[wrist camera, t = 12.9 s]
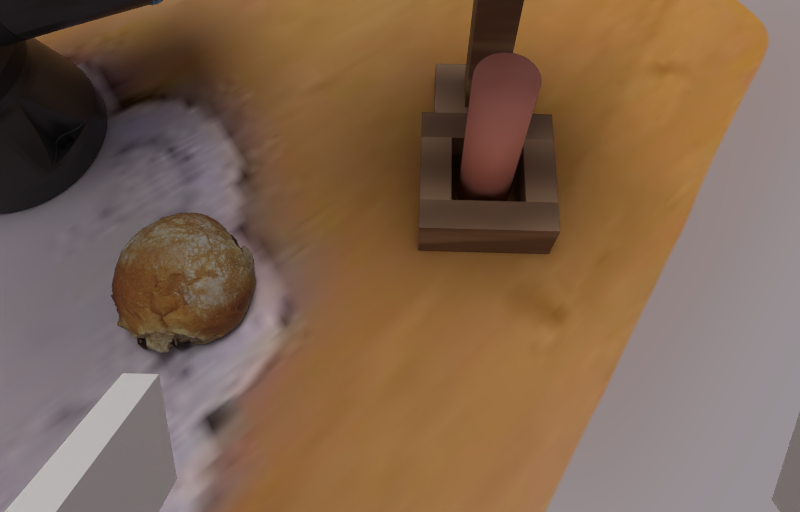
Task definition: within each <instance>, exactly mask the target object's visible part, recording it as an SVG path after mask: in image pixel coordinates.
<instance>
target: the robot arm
mask: <svg viewBox="0 0 800 512" xmlns="http://www.w3.org/2000/svg"><path fill="white" fill-rule="evenodd" d="M162 1H163V0H0V213H7V212H13V211H18V210H22V209H26V208H29V207H32V206H35V205H37V204H40V203H42V202H44V201H46V200H48V199H50V198H52V197H54V196H55V195H57V194H59V193H60V192H62V191H63V190H65V189H66V188H67V187H69V186H70V185H71V184H72V183H73V182H75V181H76V180H77V179H78V178H79V177H80V176H81V175H82V174H83V173H84V172H85V171H86V169H87V168H88V167H89V166H90V164H91V163H92V162H93V160H94V159H95V157H96V155H97V153H98V152H99V150H100V147H101V145H102V143H103V140H104V136H105V133H106V126H107V114H106V108H105V104H104V101H103V99H102V97H101V95H100V93H99V92H98V90H97V89H96V88H95V86H94V85H93V84H92V82H91V81H90V80H89V78H88V77H87V76H86V75H85V73H84V72H83V71H82V70H81V69H80V68H79V67H77V66H76V65H75V64H74V63H73V62H71V61H70V60H68V59H66V58H65V57H63V56H62V55H60V54H59V53H57V52H55V51H54V50H52V49H51V48H49V47H48V46H46V45H44V44H43V43H41V42H40V41H38V40H37V39H35V38H34V37H38V36H41V35H44V34H48V33H51V32H54V31H58V30H61V29H64V28H68V27H72V26H75V25H79V24H82V23H86V22H89V21H93V20H96V19H100V18H103V17H107V16H110V15H114V14H118V13H121V12H125V11H128V10H132V9H135V8H139V7H142V6H146V5H155V4H159V3H160V2H162ZM176 479H177V477H176V471H175V465H174V459H173V454H172V448H171V442H170V436H169V430H168V425H167V419H166V413H165V407H164V401H163V396H162V390H161V384H160V378H159V374H134V373H122V374H121V376H120V377H119V378H118V379H117V380H116V381H115V383H114V384H113V385H112V386H111V387H110V388H109V390H108V391H107V392H106V393H105V394H104V395H103V397H102V398H101V399H100V400H99V401H98V403H97V404H96V405H95V406H94V407H93V408H92V410H91V411H90V412H89V413H88V414H87V415H86V417H85V418H84V419H83V420H82V421H81V422H80V424H79V425H78V426H77V427H76V428H75V429H74V431H73V432H72V433H71V434H70V435H69V437H68V438H67V439H66V440H65V441H64V442H63V444H62V445H61V446H60V447H59V448H58V449H57V451H56V452H55V453H54V454H53V455H52V456H51V458H50V459H49V460H48V461H47V462H46V464H45V465H44V466H43V467H42V468H41V469H40V471H39V472H38V473H37V474H36V475H35V476H34V478H33V479H32V480H31V481H30V482H29V483H28V485H27V486H26V487H25V488H24V489H23V491H22V492H21V493H20V494H19V495H18V496H17V498H16V499H15V500H14V501H13V502H12V503H11V505H10V506H9V507H8V508H7V509H6V510H5V512H159V510H160V509H161V507H162V505H163V503H164V501H165V499H166V497H167V496H168V494H169V492H170V490H171V488H172V486H173V484H174V483H175V481H176ZM772 501H773V502H774V504H775V505H776V506H777V508H778V509H779V511H780V512H800V413H799V416H798V419H797V422H796V425H795V428H794V432H793V435H792V438H791V441H790V444H789V447H788V450H787V453H786V457H785V460H784V463H783V466H782V469H781V472H780V475H779V478H778V482H777V485H776V488H775V491H774V494H773V497H772Z"/></svg>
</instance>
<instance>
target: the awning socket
mask: <svg viewBox="0 0 800 512" xmlns="http://www.w3.org/2000/svg"><path fill="white" fill-rule="evenodd" d="M523 2H524V0H474V2H473V11H472V19H471V28H470V37H469V46H468V55H467V63H466V64H436V70H435V110H434V112H422V140H421V171H420V203H419V247H418V250H428V251H464V252H500V253H536V254H549V252H550V250H551V248H552V246H553V244H554V242H555V241H556V239H557V237H558V235H559V233H560V220H559V206H558V193H557V179H556V165H555V152H554V138H553V124H552V115H544V114H532V117H531V121H530V124H529V127H528V131H527V134H526V137H525V141H524V144H523V148H522V151H521V154H520V158H519V161H518V164H517V168H516V171H515V182H516V202H515V201H474V200H451V170H452V166H461V162H462V154H463V146H464V139H465V131H466V124H467V116H468V108H469V101H470V93H471V86H472V78H473V72H474V70H475V68H476V66H477V65H478V63H479V62H480V61H481V60H483V59H484V58H486V57H488V56H490V55H492V54H496V53H504V52H505V53H513V49H514V45H515V40H516V35H517V31H518V26H519V21H520V16H521V12H522V7H523Z"/></svg>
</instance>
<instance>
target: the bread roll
mask: <svg viewBox="0 0 800 512" xmlns="http://www.w3.org/2000/svg"><path fill="white" fill-rule="evenodd" d="M253 263H254V260H253V258H252V253H251V252H250V250H249V249H248V248H246V247H245V246H244V247H242V248H240V247H239V246H238V243H237V240H236V239H235V238H234V237H233V236H232V235H230V234H229V233H228V232H227V231H226V229H225V228H224V227H223V226H222V225H221V224H220V223H219V222H217V221H216V220H214V219H212V218H210V217H208V216H206V215H203V214H199V213H179V214H175V215H171V216H167V217H163V218H161V219H160V220H158V221H157V222H154V223H152V224H150V225H148V226H147V227H145V228H143V229H142V230H141V231H139V232H138V233H137V234H136V235H135V236H134V237H133V238H132V239H131V240H130V241H129V243H128V244H127V245H126V246H125V247H124V249H123V250H122V252H121V254H120V257H119V260H118V263H117V265H116V268H115V273H114V278H113V283H112V292H113V295H111V297H112V298H113V300H114V302H115V306H116V307H117V311H118V313H119V321H118V326H120V327H122V328H125V329H126V330H128V331H129V332H130V333H131V334H132V335H133V336H134V337H135V338H137V339H138V344H139V345H140V346H141V347H142V348H143V349H149V350H155V351H157V352H159V353H163V352H169V351H170V350H169V348H170V347H175V348H177V349H179V350H182V349H185V348H187V347H188V346H190V345H191V344H206V343H208V342H211V341H213V340H214V339H217V338H219V337H220V338H221V337H223V335H225V334H226V333H228V332H229V331H230V330H232V329H233V328H234V327H236V326H237V325H238V324H239V323H240V322H241V321H242V318H243V316H244V315H245V312H246V310H247V309H248V308H249V302H250V299H251V297H252V294H253V291H254V288H255V282H256V279H255V274H254V264H253ZM164 325H165V326H164Z"/></svg>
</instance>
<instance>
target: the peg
mask: <svg viewBox="0 0 800 512" xmlns="http://www.w3.org/2000/svg"><path fill="white" fill-rule="evenodd" d="M540 87H541V75H540V73H539V70H538V69H537V67H536V66H535V65H534V64H533V63H532V62H531V61H530V60H529V59H527V58H525V57H523V56H521V55H518V54H514V53H505V52H504V53H496V54H492V55H490V56H488V57H486V58H484V59H483V60H481V61H480V62H479V63H478V65H477V66H476V68H475V70H474V72H473V78H472V86H471V93H470V101H469V108H468V116H467V124H466V131H465V139H464V146H463V154H462V162H461V169H460V177H459V184H458V192H457V198H458V200H474V201H507V198H508V195H509V192H510V188H511V185H512V181H513V178H514V175H515V171H516V168H517V164H518V161H519V158H520V154H521V151H522V148H523V144H524V141H525V137H526V134H527V131H528V127H529V124H530V121H531V117H532V114H533V110H534V107H535V104H536V100H537V97H538V94H539V90H540Z"/></svg>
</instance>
